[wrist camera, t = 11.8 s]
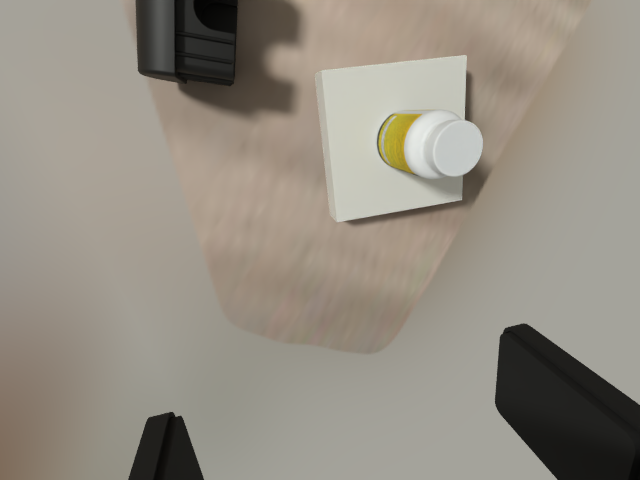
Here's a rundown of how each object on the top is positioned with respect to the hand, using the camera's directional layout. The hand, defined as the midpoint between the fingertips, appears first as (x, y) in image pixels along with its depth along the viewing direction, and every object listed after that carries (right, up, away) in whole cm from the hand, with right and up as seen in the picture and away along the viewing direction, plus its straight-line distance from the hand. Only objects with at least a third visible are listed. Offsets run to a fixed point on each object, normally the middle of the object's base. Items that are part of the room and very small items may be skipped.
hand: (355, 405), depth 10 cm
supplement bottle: (+7, +15, +24) cm, 29 cm away
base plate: (+6, +15, +27) cm, 31 cm away
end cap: (-12, +23, +20) cm, 33 cm away
